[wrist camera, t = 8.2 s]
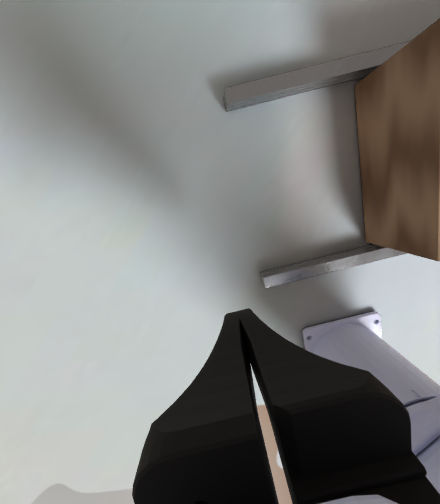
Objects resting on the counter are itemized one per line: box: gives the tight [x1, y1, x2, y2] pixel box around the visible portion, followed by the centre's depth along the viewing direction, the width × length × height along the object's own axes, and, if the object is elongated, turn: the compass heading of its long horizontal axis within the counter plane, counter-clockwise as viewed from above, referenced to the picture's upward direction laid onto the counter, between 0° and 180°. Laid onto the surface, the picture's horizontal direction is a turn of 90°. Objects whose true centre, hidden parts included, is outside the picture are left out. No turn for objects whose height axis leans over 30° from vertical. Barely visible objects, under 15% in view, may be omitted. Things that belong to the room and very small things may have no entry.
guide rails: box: [224, 41, 410, 288], centre depth 18 cm, size 16×21×2 cm
